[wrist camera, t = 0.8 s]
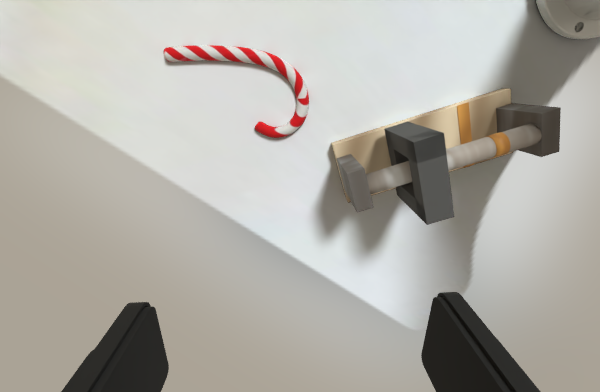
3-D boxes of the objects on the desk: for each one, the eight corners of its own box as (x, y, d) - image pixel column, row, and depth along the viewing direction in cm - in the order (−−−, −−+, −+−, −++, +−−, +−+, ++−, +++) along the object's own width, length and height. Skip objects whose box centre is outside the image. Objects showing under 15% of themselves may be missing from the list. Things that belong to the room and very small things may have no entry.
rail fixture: (502, 88, 31) (561, 90, 24) (505, 150, 33) (559, 166, 27) (331, 143, 32) (343, 158, 25) (346, 198, 35) (360, 225, 28)
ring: (407, 121, 29) (444, 132, 23) (418, 188, 32) (454, 216, 25) (384, 128, 29) (413, 142, 23) (397, 195, 32) (427, 224, 25)
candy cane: (167, 13, 26) (321, 72, 29) (172, 16, 27) (320, 73, 30) (153, 99, 29) (296, 146, 31) (158, 98, 30) (295, 144, 32)
